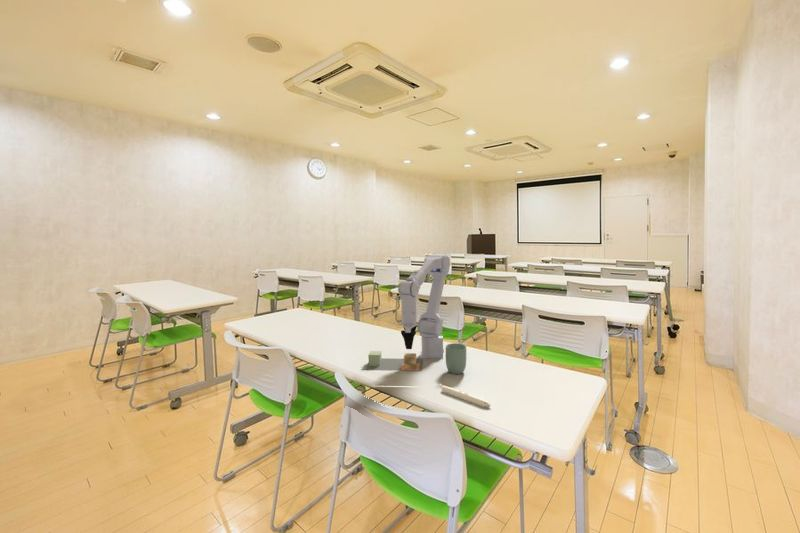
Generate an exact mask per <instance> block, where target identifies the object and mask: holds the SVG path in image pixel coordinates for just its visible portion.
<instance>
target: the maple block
mask: <svg viewBox="0 0 800 533" xmlns="http://www.w3.org/2000/svg"><path fill="white" fill-rule="evenodd" d="M403 359H404V368H405V369H416V359H417V353H416V352H415V353H410V352H408V353H407V352H406V353H404V355H403Z"/></svg>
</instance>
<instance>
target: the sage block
mask: <svg viewBox="0 0 800 533" xmlns="http://www.w3.org/2000/svg"><path fill="white" fill-rule="evenodd" d="M367 356H368V363H369V366H380V365H381V362H382V360H381V358H382V351H381V350H380V351H379V350H375V351H374V350H370V351H369V353H368V355H367Z"/></svg>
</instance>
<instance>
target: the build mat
mask: <svg viewBox="0 0 800 533" xmlns="http://www.w3.org/2000/svg"><path fill="white" fill-rule="evenodd" d="M381 360H382V362H381V365H380V366H369V362H368V363H367V365H366V367H365V369H364V370H365V371H402V372H406V371H407V372H408V371H409V372H411V371H412V372H419V371H420V372H421V371H422V372H423V362H424V361H423V360H424V358H416V369H405V368H404V358H390V357H388V358H385V357H384V358H383V357H381Z"/></svg>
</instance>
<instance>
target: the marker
mask: <svg viewBox="0 0 800 533" xmlns="http://www.w3.org/2000/svg"><path fill="white" fill-rule="evenodd" d="M440 389H441V392H443V393H445V394H447V393H448V395H451V396H453V397H455V396H456V398H458V399H461V400H463V399H464V401H467V402H468V403H471V402H472V403H471V404H474V405H477V406H480V407H482V408H491V404H490V403H489V401H487V400H485V399H483V398H481V397H477V396H474V395H472V394H469V393H467V392H463V391H461V390H458V389H455V388H452V387H449V386H446V385H442V386H441V388H440Z"/></svg>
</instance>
